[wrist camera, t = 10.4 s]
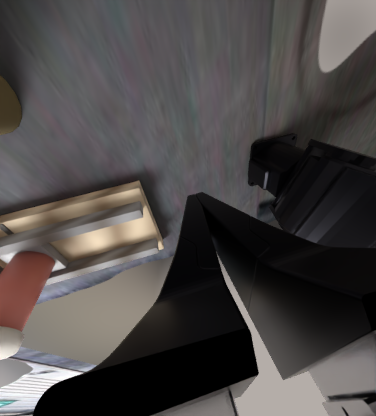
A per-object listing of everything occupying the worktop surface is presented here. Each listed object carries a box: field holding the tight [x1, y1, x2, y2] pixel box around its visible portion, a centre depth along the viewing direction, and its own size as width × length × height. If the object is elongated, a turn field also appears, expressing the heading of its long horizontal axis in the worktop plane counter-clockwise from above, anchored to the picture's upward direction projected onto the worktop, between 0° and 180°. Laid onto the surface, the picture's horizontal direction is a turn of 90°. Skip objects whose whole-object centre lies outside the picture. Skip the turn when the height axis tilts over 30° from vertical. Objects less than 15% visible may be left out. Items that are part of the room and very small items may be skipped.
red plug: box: [0, 243, 69, 360], centre depth 18 cm, size 5×5×10 cm
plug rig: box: [0, 181, 164, 285], centre depth 22 cm, size 22×12×6 cm, turn 99°
